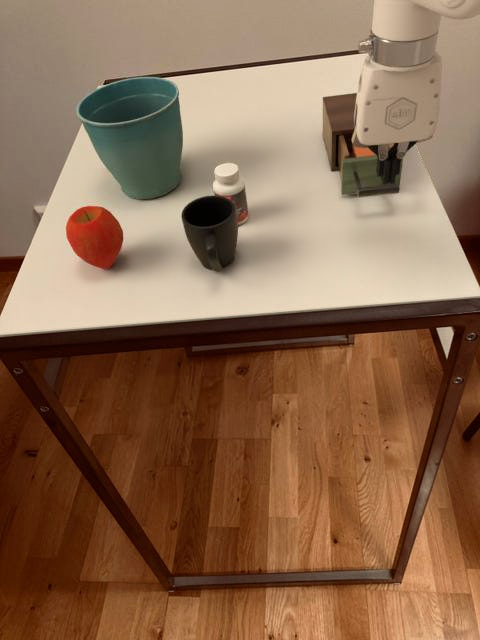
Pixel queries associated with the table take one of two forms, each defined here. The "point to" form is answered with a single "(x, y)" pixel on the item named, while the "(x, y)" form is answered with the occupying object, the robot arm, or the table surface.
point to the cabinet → (337, 122)
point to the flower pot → (137, 133)
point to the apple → (95, 235)
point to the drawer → (361, 171)
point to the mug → (212, 230)
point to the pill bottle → (232, 188)
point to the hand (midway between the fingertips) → (386, 178)
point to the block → (361, 152)
